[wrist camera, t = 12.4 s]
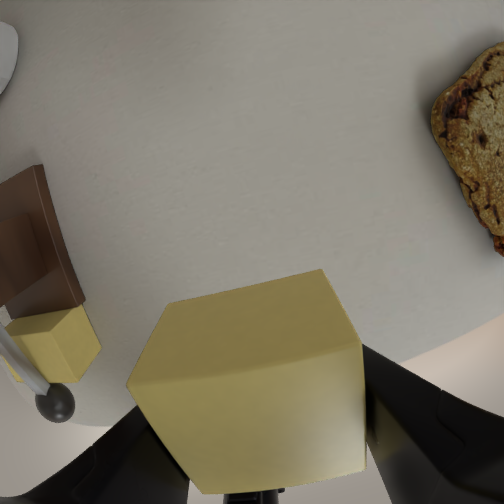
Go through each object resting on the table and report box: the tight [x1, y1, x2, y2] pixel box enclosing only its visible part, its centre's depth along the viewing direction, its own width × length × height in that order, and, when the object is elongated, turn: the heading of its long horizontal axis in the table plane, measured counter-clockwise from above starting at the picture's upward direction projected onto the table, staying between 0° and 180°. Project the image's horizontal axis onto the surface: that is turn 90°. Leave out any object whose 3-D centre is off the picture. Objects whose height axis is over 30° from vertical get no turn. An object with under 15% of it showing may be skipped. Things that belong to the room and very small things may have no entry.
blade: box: [0, 323, 75, 423], centre depth 15 cm, size 14×3×3 cm, turn 13°
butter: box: [0, 304, 102, 383], centre depth 19 cm, size 4×7×4 cm, turn 103°
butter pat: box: [126, 269, 367, 494], centre depth 7 cm, size 4×4×4 cm
